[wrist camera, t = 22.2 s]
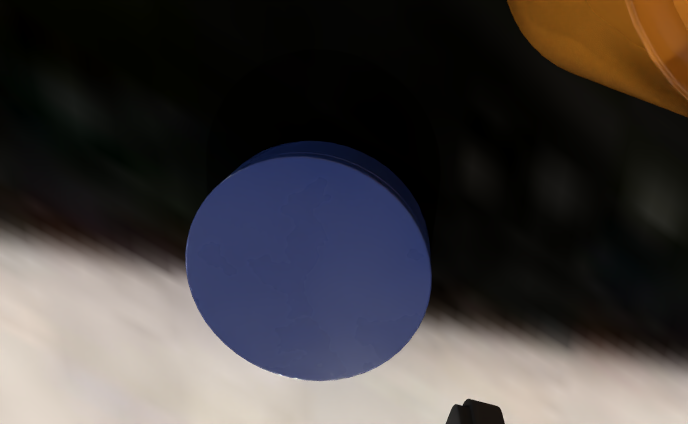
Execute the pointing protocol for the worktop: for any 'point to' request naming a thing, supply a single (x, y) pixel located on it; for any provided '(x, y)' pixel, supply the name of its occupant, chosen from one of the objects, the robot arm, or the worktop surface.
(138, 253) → the worktop surface
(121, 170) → the worktop surface
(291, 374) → the lid
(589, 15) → the jar
